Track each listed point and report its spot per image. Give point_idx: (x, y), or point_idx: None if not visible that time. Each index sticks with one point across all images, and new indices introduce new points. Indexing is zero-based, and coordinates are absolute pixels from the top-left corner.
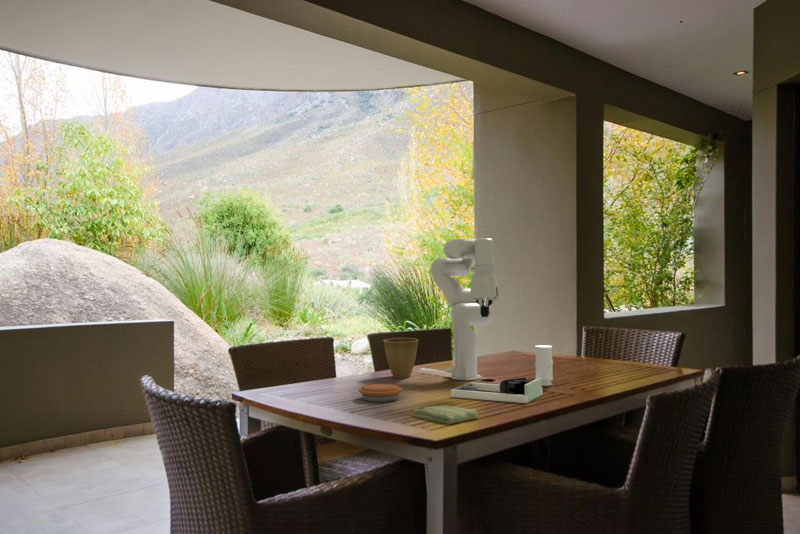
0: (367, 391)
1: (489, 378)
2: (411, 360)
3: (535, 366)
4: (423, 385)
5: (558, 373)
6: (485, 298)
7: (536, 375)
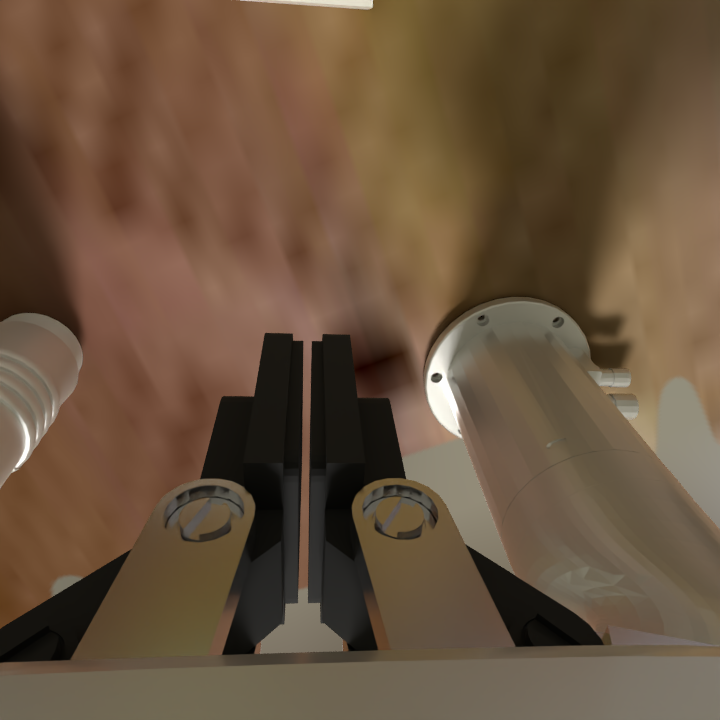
0: None
1: None
2: None
3: (32, 383)
4: (710, 35)
5: None
6: (90, 662)
7: (47, 349)
